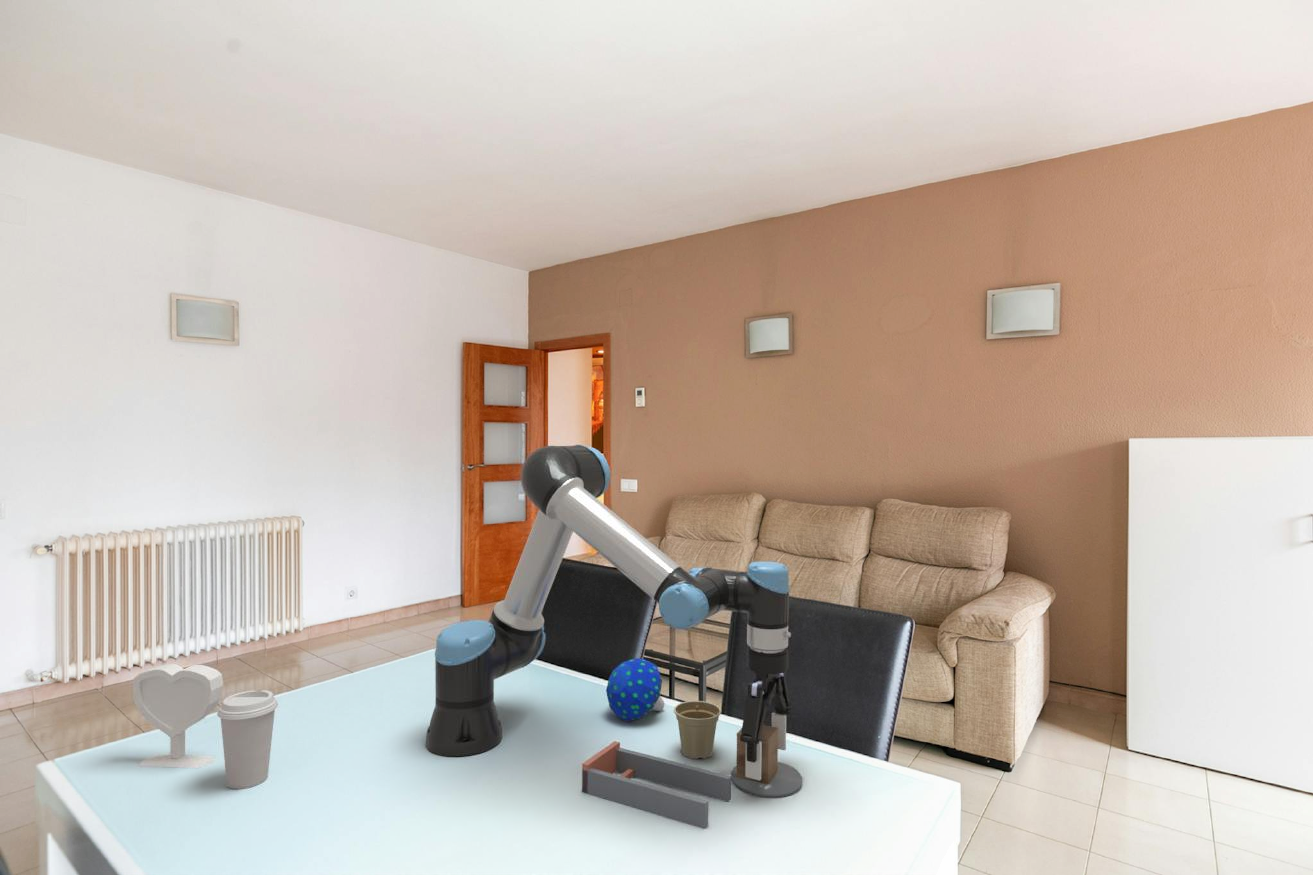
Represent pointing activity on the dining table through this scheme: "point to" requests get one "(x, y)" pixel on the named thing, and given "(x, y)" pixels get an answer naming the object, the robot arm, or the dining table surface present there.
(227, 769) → the coffee cup
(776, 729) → the block
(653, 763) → the channel
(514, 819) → the dining table surface
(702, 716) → the flower pot
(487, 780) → the dining table surface
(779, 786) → the coaster
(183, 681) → the heart sculpture
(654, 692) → the mushroom
